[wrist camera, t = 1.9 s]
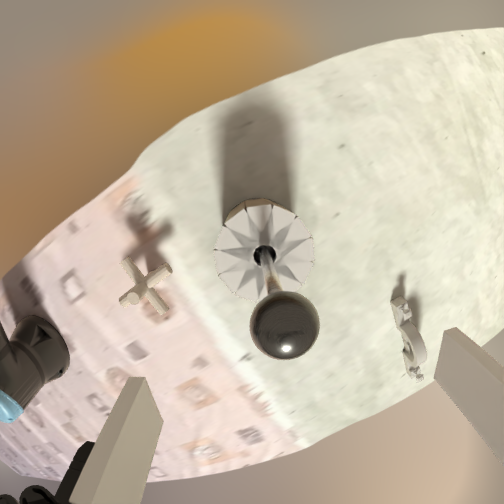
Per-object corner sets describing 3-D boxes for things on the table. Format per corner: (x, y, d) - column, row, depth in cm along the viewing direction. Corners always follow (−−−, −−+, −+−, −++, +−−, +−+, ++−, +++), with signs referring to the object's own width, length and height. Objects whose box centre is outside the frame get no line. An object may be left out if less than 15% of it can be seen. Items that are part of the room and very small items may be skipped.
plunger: (234, 283, 37) (225, 406, 15) (225, 219, 35) (197, 280, 13) (297, 274, 37) (358, 386, 15) (291, 211, 35) (363, 258, 13)
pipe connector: (157, 234, 45) (135, 248, 35) (194, 283, 47) (182, 308, 37) (115, 268, 46) (89, 288, 36) (151, 313, 48) (132, 341, 39)
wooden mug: (231, 292, 48) (227, 334, 34) (218, 203, 44) (207, 212, 31) (298, 283, 48) (318, 321, 34) (289, 194, 44) (309, 199, 31)
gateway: (388, 300, 50) (409, 318, 42) (398, 294, 50) (420, 312, 42) (405, 370, 54) (421, 391, 46) (414, 365, 54) (430, 385, 46)
